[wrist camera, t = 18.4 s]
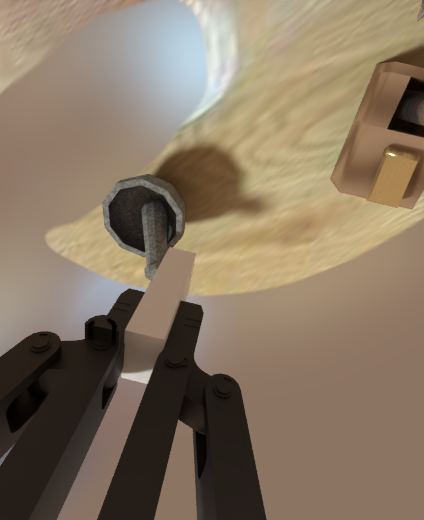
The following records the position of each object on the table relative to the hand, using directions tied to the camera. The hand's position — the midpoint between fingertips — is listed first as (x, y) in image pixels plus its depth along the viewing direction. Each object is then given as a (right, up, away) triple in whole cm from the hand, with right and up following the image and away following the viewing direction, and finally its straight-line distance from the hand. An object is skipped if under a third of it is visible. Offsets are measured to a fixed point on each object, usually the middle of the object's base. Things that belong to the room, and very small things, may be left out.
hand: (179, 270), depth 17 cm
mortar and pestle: (-5, +8, +25) cm, 27 cm away
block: (+21, +14, +17) cm, 31 cm away
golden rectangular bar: (+20, +9, +14) cm, 26 cm away
